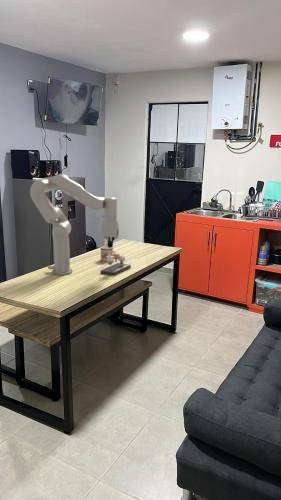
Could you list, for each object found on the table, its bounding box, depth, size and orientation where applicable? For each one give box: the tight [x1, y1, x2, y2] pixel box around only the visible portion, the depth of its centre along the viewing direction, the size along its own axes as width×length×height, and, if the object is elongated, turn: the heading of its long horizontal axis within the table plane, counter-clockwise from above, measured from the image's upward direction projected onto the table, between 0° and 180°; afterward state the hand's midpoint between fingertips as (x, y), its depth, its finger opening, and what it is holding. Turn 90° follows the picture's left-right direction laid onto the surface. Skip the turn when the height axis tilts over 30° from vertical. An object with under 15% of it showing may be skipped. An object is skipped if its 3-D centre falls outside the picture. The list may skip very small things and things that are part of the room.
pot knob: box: [113, 252, 120, 263], centre depth 243 cm, size 4×4×5 cm
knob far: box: [117, 255, 126, 264], centre depth 250 cm, size 4×4×5 cm
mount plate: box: [100, 262, 132, 277], centre depth 245 cm, size 21×10×2 cm, turn 152°
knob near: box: [106, 256, 115, 266], centre depth 237 cm, size 4×4×5 cm
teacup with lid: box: [100, 243, 117, 262], centre depth 269 cm, size 12×9×12 cm
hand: (110, 247), depth 236 cm, fingers closed
